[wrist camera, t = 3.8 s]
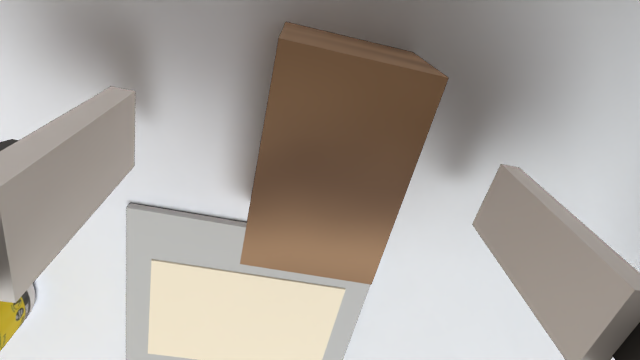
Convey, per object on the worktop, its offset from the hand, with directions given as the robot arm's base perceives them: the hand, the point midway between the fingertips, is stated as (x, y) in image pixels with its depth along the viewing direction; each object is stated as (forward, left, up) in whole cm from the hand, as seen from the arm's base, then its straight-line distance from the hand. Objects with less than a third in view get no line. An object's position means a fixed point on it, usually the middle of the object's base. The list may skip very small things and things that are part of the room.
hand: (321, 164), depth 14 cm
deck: (0, 0, -3) cm, 3 cm away
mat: (+11, -2, -3) cm, 12 cm away
